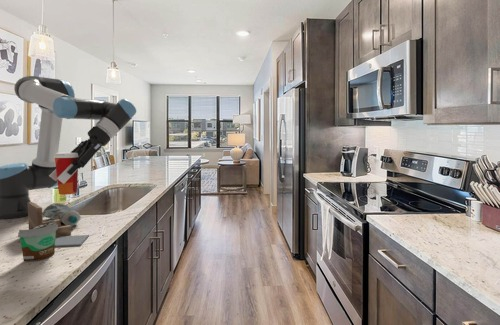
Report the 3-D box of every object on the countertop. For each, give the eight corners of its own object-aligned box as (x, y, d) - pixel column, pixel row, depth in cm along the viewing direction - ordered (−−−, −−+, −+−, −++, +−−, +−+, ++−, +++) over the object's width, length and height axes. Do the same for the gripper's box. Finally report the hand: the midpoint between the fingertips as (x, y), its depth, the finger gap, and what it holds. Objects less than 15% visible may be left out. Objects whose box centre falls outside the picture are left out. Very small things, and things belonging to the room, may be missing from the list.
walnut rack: (59, 227, 130) (58, 198, 129) (71, 235, 121) (69, 203, 120) (28, 233, 122) (27, 202, 121) (38, 241, 113) (37, 208, 112)
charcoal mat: (59, 238, 118) (59, 236, 117) (88, 236, 120) (88, 234, 120) (48, 247, 108) (48, 245, 108) (80, 245, 110) (80, 244, 110)
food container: (37, 265, 94) (35, 231, 93) (19, 263, 95) (17, 230, 94) (68, 250, 106) (67, 220, 105) (51, 248, 107) (50, 219, 106)
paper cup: (72, 190, 117) (70, 152, 116) (85, 192, 114) (83, 153, 112) (50, 193, 111) (48, 153, 109) (63, 196, 107) (61, 154, 106)
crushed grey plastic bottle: (39, 219, 142) (53, 231, 124) (40, 203, 142) (54, 212, 124) (72, 216, 151) (89, 227, 133) (73, 201, 151) (90, 210, 133)
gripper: (122, 140, 115) (75, 190, 104) (99, 139, 129) (55, 183, 118) (107, 124, 110) (56, 175, 100) (84, 125, 124) (38, 170, 114)
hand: (56, 179), depth 109 cm, fingers closed on paper cup, 8 cm apart
